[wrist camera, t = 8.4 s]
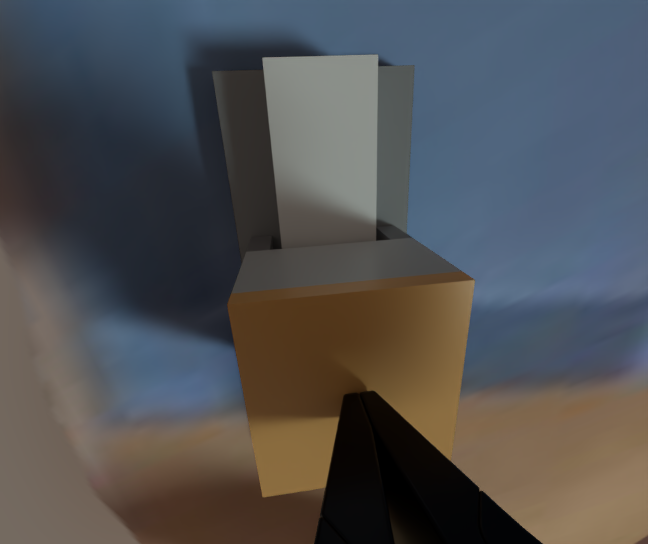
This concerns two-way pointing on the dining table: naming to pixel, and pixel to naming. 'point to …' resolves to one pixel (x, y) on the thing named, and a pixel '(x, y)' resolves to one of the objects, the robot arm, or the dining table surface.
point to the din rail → (256, 151)
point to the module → (345, 345)
